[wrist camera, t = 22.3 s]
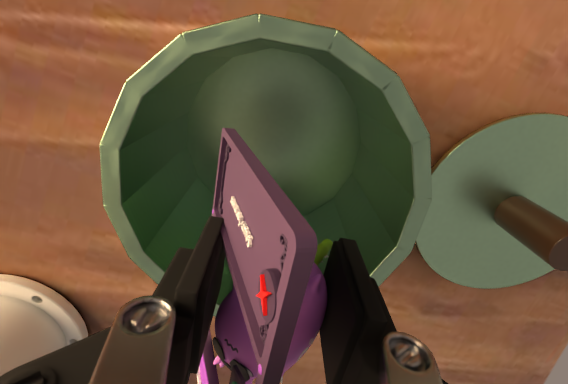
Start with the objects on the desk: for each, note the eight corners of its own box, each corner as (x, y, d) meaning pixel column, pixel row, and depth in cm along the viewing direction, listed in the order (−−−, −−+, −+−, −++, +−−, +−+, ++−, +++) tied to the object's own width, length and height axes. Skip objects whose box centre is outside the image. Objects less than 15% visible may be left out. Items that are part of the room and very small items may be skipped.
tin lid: (386, 267, 28) (414, 327, 22) (450, 93, 22) (515, 107, 16) (543, 291, 29) (612, 353, 23) (644, 130, 23) (776, 157, 17)
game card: (250, 241, 4) (195, 541, 8) (495, 233, 6) (366, 475, 10) (198, 123, 10) (180, 328, 13) (337, 139, 12) (290, 314, 15)
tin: (175, 210, 25) (108, 304, 16) (183, 17, 20) (89, -22, 10) (342, 236, 26) (376, 339, 17) (394, 58, 21) (489, 59, 11)
